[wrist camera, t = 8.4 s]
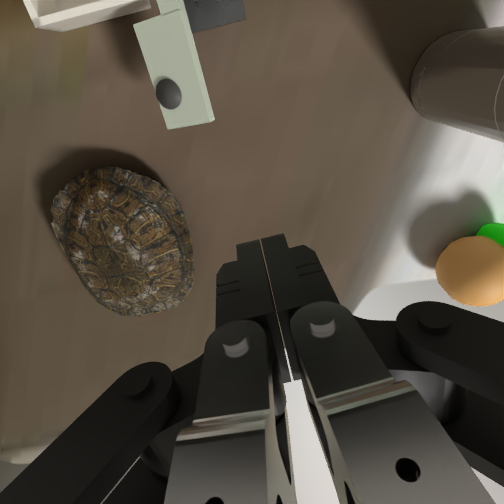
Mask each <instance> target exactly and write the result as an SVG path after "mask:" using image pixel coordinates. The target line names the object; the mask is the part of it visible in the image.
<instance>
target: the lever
mask: <svg viewBox="0 0 504 504" xmlns="http://www.w3.org/2000/svg"><path fill="white" fill-rule="evenodd" d="M157 3H158V7H159V10H160V13H161V15H159V16H156V17H153V18H151V19H148V20H145V21H142V22H139V23H136V24H133V26H134V29H135V32H136V35H137V38H138V41H139V44H140V47H141V50H142V53H143V56H144V59H145V62H146V65H147V68H148V71H149V74H150V77H151V80H152V83H153V86H154V89H155V92H156V96H157V99H158V101H159V104H160V107H161V110H162V113H163V116H164V119H165V122H166V125H167V128H168V129H173V128H179V127H185V126H191V125H197V124H202V123H208V122H211V121H213V120H215V118H214V115H213V111H212V107H211V103H210V100H209V96H208V92H207V88H206V84H205V81H204V77H203V73H202V69H201V66H200V62H199V58H198V54H197V51H196V47H195V43H194V39H193V35H192V32H191V28H190V24H189V20H188V17H187V13H186V9H185V5H184V1H183V0H157Z"/></svg>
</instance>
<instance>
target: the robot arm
mask: <svg viewBox="0 0 504 504" xmlns="http://www.w3.org/2000/svg"><path fill="white" fill-rule="evenodd" d="M410 92H411V99H412V102H413V105H414V107H415V108H416V110H417V112H418V113H420V114H421V115H422V116H423V117H425V118H427V119H429V120H432V121H435V122H438V123H442V124H445V125H448V126H451V127H454V128H458V129H461V130H464V131H468V132H471V133H474V134H478V135H481V136H484V137H488V138H491V139H494V140H498V141H501V142H504V26H503V27H494V28H483V29H473V30H464V31H456V32H452V33H449V34H447V35H444V36H442V37H440V38H439V39H438V40H436V41H435V42H434V43H432V44H431V45H430V46H429V47H428V48H427V49H426V50H425V51H424V53H423V54H422V56H421V57H420V59H419V60H418V62H417V64H416V66H415V68H414V71H413V75H412V78H411V86H410ZM261 242H262V246H263V251H264V255H265V260H266V264H267V269H268V273H269V278H270V282H271V287H272V291H273V295H272V291H271V287H270V282H269V278H268V274H267V270H266V266H265V262H264V258H263V254H262V250H261V246H260V242H259V240H254V241H250V242H246V243H242V244H237V245H236V248H237V260H238V261H233V262H229V263H225V264H223V265H222V267H221V268H220V270H219V272H218V273H217V278H216V286H217V288H216V296H217V297H216V330H215V331H214V332H213V333H212V334H211V335H210V336H209V338H208V339H207V341H206V344H205V349H204V353H203V354H202V355H201V356H200V357H198V358H197V359H195V360H194V361H192V362H190V363H188V364H186V365H184V366H182V367H180V368H178V369H176V370H174V371H172V372H171V370H170V368H169V367H168V366H167V365H165V364H163V363H160V362H147V363H143V364H140V365H137V366H135V367H133V368H131V369H130V370H128V371H127V372H125V373H124V374H123V375H122V376H121V377H119V378H118V379H117V380H116V381H115V382H114V383H113V384H112V385H111V386H110V387H109V388H108V389H107V390H106V391H105V392H104V393H103V394H102V395H101V396H100V397H99V398H98V399H97V400H96V401H95V402H94V403H93V404H92V405H91V406H89V407H88V408H87V409H86V410H85V411H84V412H83V413H82V414H81V415H80V416H79V417H78V418H77V419H76V420H75V421H74V422H73V423H72V424H71V425H70V426H69V427H68V428H67V429H66V430H65V431H64V432H63V433H62V434H61V435H60V436H59V437H58V438H57V439H55V440H54V441H53V442H52V443H51V444H50V445H49V446H48V447H47V448H46V449H45V450H44V451H43V452H42V453H41V454H40V455H39V456H38V457H37V458H36V459H35V460H34V461H33V462H32V463H31V464H30V465H29V466H28V467H27V468H26V469H25V470H24V471H23V472H21V474H20V475H18V477H16V478H15V479H14V481H12V482H11V483H10V484H9V485H8V486H7V487H6V488H5V489H4V490H3V491H2V492H1V493H0V504H100V503H101V502H102V501H103V499H104V498H105V497H106V496H107V495H108V493H109V492H110V491H111V490H112V489H113V487H114V486H115V485H116V484H117V482H118V481H119V480H120V479H121V478H122V476H123V475H124V474H125V473H126V471H127V470H128V469H129V468H130V467H131V465H132V464H133V463H134V462H135V461H136V459H137V458H138V457H139V456H140V458H139V459H138V461H137V462H136V463H135V464H134V466H133V467H132V468H131V469H130V471H129V472H128V473H127V475H126V476H125V477H124V478H123V479H122V481H121V482H120V483H119V484H118V485H117V486H116V488H115V489H114V490H113V491H112V493H111V494H110V495H109V496H108V497H107V499H106V500H105V501H104V502H103V504H297V499H296V492H295V483H294V474H293V464H292V455H291V444H290V435H289V426H288V416H287V410H286V395H285V391H284V385H283V383H286V382H291V378H290V373H289V369H288V365H287V360H286V355H285V350H284V346H283V341H282V336H281V332H280V327H279V323H278V318H279V322H280V326H281V330H282V334H283V338H284V342H285V347H286V351H287V355H288V359H289V363H290V367H291V371H292V375H293V379H294V380H299V379H302V383H303V387H304V391H305V395H306V400H307V404H308V408H309V412H310V414H311V417H312V420H313V423H314V426H315V429H316V432H317V435H318V438H319V441H320V444H321V447H322V450H323V453H324V456H325V459H326V462H327V464H328V468H329V470H330V473H331V476H332V479H333V482H334V486H335V489H336V492H337V495H338V499H339V503H340V504H496V503H495V502H494V500H493V499H492V498H491V496H490V495H489V493H488V492H487V490H486V489H485V488H484V486H483V485H482V483H481V482H480V480H479V479H478V477H477V476H476V474H475V473H474V472H473V470H472V469H471V467H472V468H474V469H476V470H477V471H479V472H480V473H482V474H483V475H485V476H487V477H488V478H490V479H492V480H493V481H495V482H496V483H498V484H500V485H501V486H503V487H504V322H501V321H498V320H495V319H491V318H488V317H486V316H482V315H479V314H477V313H473V312H470V311H467V310H464V309H461V308H458V307H455V306H452V305H449V304H446V303H441V302H434V301H423V302H417V303H413V304H411V305H408V306H406V307H405V308H403V309H402V310H401V311H400V312H399V314H398V316H397V318H396V321H378V320H367V319H362V318H359V317H356V316H354V315H353V314H352V313H351V312H350V310H348V309H347V308H346V307H344V306H343V305H341V304H340V303H339V301H338V299H337V297H336V294H335V292H334V290H333V288H332V286H331V284H330V282H329V280H328V278H327V276H326V274H325V272H324V270H323V268H322V266H321V263H320V261H319V259H318V257H317V255H316V253H315V251H313V250H311V249H310V248H308V247H307V246H305V245H301V246H297V247H293V248H289V247H288V244H287V242H286V239H285V236H284V234H279V235H275V236H271V237H267V238H262V239H261ZM273 296H274V300H275V304H274V300H273ZM275 305H276V309H277V313H276V309H275ZM277 314H278V318H277Z"/></svg>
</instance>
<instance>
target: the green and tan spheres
mask: <svg viewBox="0 0 504 504" xmlns="http://www.w3.org/2000/svg"><path fill="white" fill-rule="evenodd" d="M436 276H437V279H438V283H439V284H440V285H441V286H442V288H443V289H444V290H445V291H446V292H447V293H448V295H449V296H450V297H451V298H452V299H454V300H456V301H458V302H460V303H462V304H465V305H471V306H477V307H479V306H490V305H493V304H496V303H498V302H500V301H502V300H504V224H500V223H489V224H486V225H483V226H482V227H481V228H480V230H479V231H478V232H477V234H476V236H470V237H462V238H460V239H458V240H456V241H454V242H451V243H450V244H449V245H448V246H447V248H446V249H445V250H444V251H443V252H442V253H441V254H440V256H439V258H438V261H437V264H436Z"/></svg>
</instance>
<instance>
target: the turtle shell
mask: <svg viewBox="0 0 504 504" xmlns="http://www.w3.org/2000/svg"><path fill="white" fill-rule="evenodd" d="M51 205H52V207H51V212H52V215H53V221H52V222H51V226H52V228H53V231H54V234H55V236H56V238H57V240H58V242H59V244H60V246H61V248H62V249H63V251H64V253H65V255H66V256H67V258H68V260H69V261H70V263H71V264H72V266H73V268H74V270H75V271H76V273H77V275H78V276H79V278H80V280H81V282H82V284H83V285H84V287H85V288H86V290H87V291H88V292H89V294H90V295H91V296H92V297H93V298H94V299H95V300H96V301H97V302H98V303H99V304H101V305H103V306H104V307H106V308H107V309H108V310H110V311H112V312H114V313H116V314H119V315H123V316H130V317H136V316H138V317H139V316H142V315H145V314H148V313H152V312H154V313H158V312H162V311H167V310H170V309H172V308H174V307H176V306H177V305H179V304H180V303H182V302H183V301H184V300H185V299H186V297H187V296H188V294H189V292H190V290H191V288H192V286H193V282H194V262H193V249H192V242H191V238H190V233H189V230H188V226H187V223H186V220H185V216H184V212H183V211H182V209H181V206H180V204H179V202H178V201H177V200H176V198H175V197H174V195H173V194H172V193H171V192H170V191H168V190H167V189H166V188H164V187H162V186H161V184H160V183H158V182H157V181H155V180H152V179H150V178H149V177H147V176H143V175H139V174H137V173H136V172H131V171H130V170H125V169H121V168H119V167H104V168H101V169H94V170H92V169H88V170H87V171H84V172H81V173H79V174H78V175H77V177H73V178H72V180H71V181H70V183H67V184H66V186H65V187H64V189H63V190H60V191H59V193H58V195H57V196H55V197H54V198H53V204H51Z"/></svg>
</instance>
